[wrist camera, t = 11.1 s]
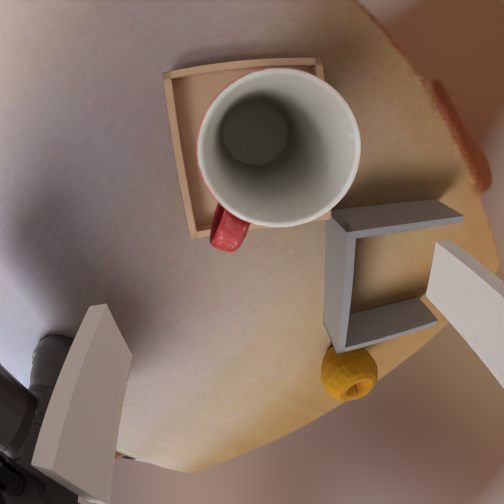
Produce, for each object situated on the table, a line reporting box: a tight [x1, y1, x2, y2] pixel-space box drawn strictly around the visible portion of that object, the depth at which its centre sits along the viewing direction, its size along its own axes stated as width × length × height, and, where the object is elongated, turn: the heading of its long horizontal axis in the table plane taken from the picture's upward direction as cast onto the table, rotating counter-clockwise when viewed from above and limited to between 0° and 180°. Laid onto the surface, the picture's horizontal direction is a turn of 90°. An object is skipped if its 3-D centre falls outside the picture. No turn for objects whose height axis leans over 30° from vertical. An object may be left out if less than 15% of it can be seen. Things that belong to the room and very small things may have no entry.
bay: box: [323, 199, 464, 354], centre depth 34 cm, size 16×17×6 cm
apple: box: [321, 346, 378, 401], centre depth 39 cm, size 8×8×9 cm
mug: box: [196, 68, 361, 252], centre depth 21 cm, size 13×9×14 cm
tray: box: [163, 58, 331, 239], centre depth 27 cm, size 14×16×2 cm
